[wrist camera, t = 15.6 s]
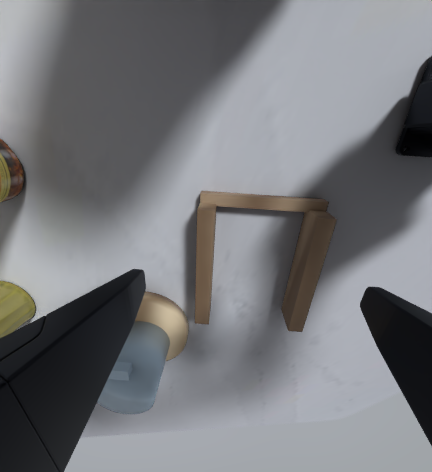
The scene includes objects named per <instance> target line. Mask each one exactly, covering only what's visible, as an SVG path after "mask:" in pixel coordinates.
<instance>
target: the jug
mask: <svg viewBox="0 0 432 472" xmlns="http://www.w3.org/2000/svg"><path fill="white" fill-rule="evenodd" d="M169 347H170V339H169V337H168V335H167V333H166V332H165V331H164V330H163V329H162V328H160V327H159V326H157V325H155V324H152V323H149V322H144V321H136V322H134V325H133V327H132V329H131V332H130V334H129V336H128V338H127V340H126V342H125V344H124V346H123V348H122V350H121V353H120V355H119V357H118V359H117V361H116V363H115V365H114V367H113V369H112V371H111V374H110V376H109V378H108V380H107V382H106V384H105V386H104V388H103V390H102V392H101V395H100V397H99V399H98V401H97V403H98V404H100V405H101V406H103V407H104V408H106V409H108V410H111V411H114V412H117V413H122V414H139V413H143V412H145V411H147V410H149V409H150V408H151V407H152V406H153V404H154V400H155V397H156V393H157V390H158V386H159V383H160V379H161V375H162V372H163V368H164V365H165V361H166V358H167V354H168V351H169Z"/></svg>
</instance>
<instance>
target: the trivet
mask: <svg viewBox="0 0 432 472" xmlns="http://www.w3.org/2000/svg"><path fill="white" fill-rule="evenodd" d="M136 321H144V322H149V323H152V324H155V325H157V326H159V327H160V328H162V329H163V330H164V331H165V332H166V333H167V335H168V337H169V339H170V347H169V351H168V354H167V358H166V361H168V360H171V359H173V358H175V357H176V356H178V355H179V354H180V353H181V352H182V350H183V349H184V347H185V345H186V341H187V336H188V331H189V324H188V320H187V317H186V315H185V314H184V312H183V311H182V309H181V308H180V307H179V306H178V305H177V304H175V303H174V302H173V301H171V300H170V299H168V298H166V297H164V296H162V295H159V294H156V293H151V292H145V293H144V296H143V299H142V302H141V305H140V308H139V311H138V314H137V317H136V319H135V322H136Z"/></svg>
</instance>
